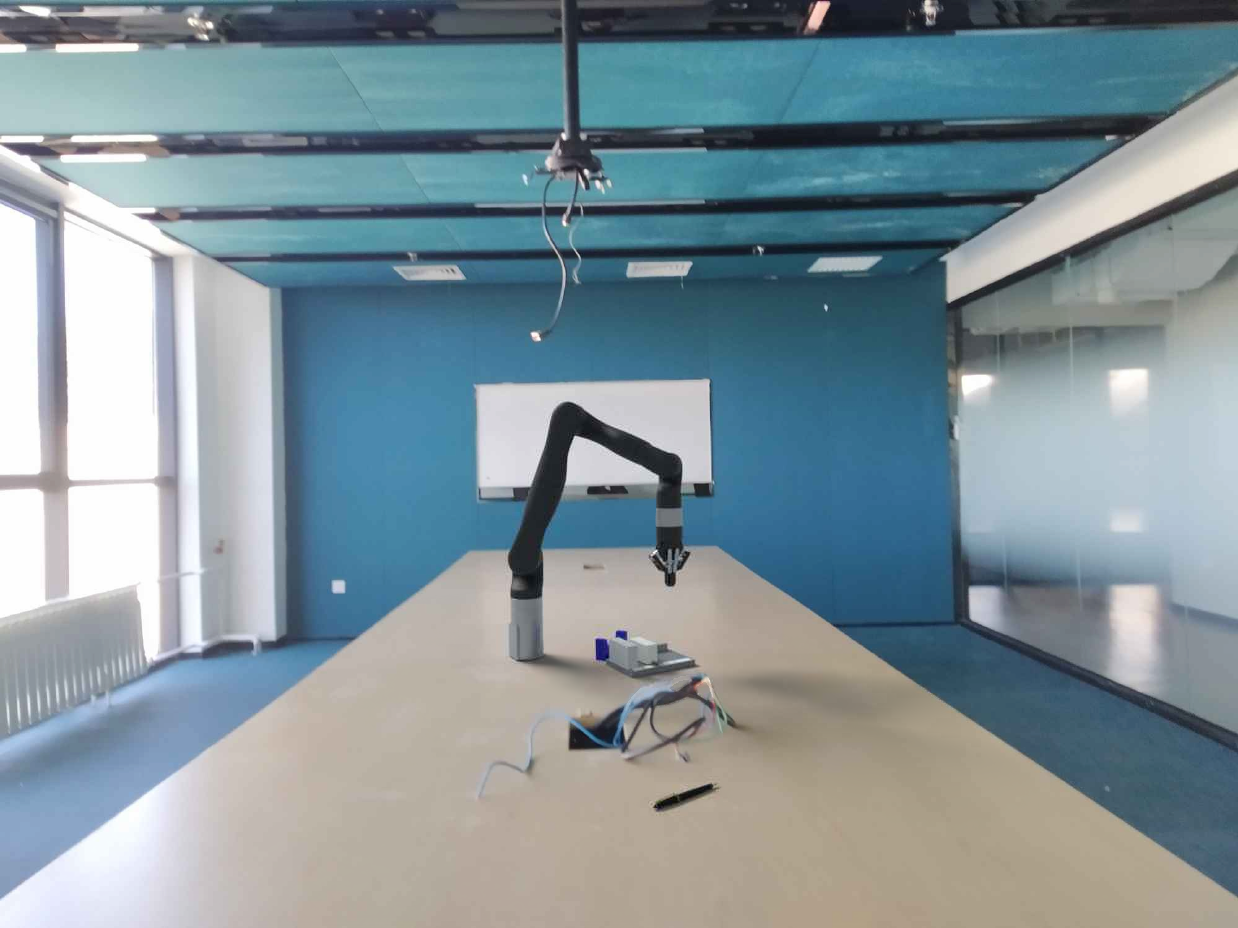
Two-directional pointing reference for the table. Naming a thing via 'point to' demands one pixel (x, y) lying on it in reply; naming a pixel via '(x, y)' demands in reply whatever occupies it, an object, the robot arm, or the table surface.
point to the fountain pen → (682, 796)
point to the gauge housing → (627, 662)
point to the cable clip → (607, 645)
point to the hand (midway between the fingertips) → (670, 586)
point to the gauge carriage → (645, 650)
